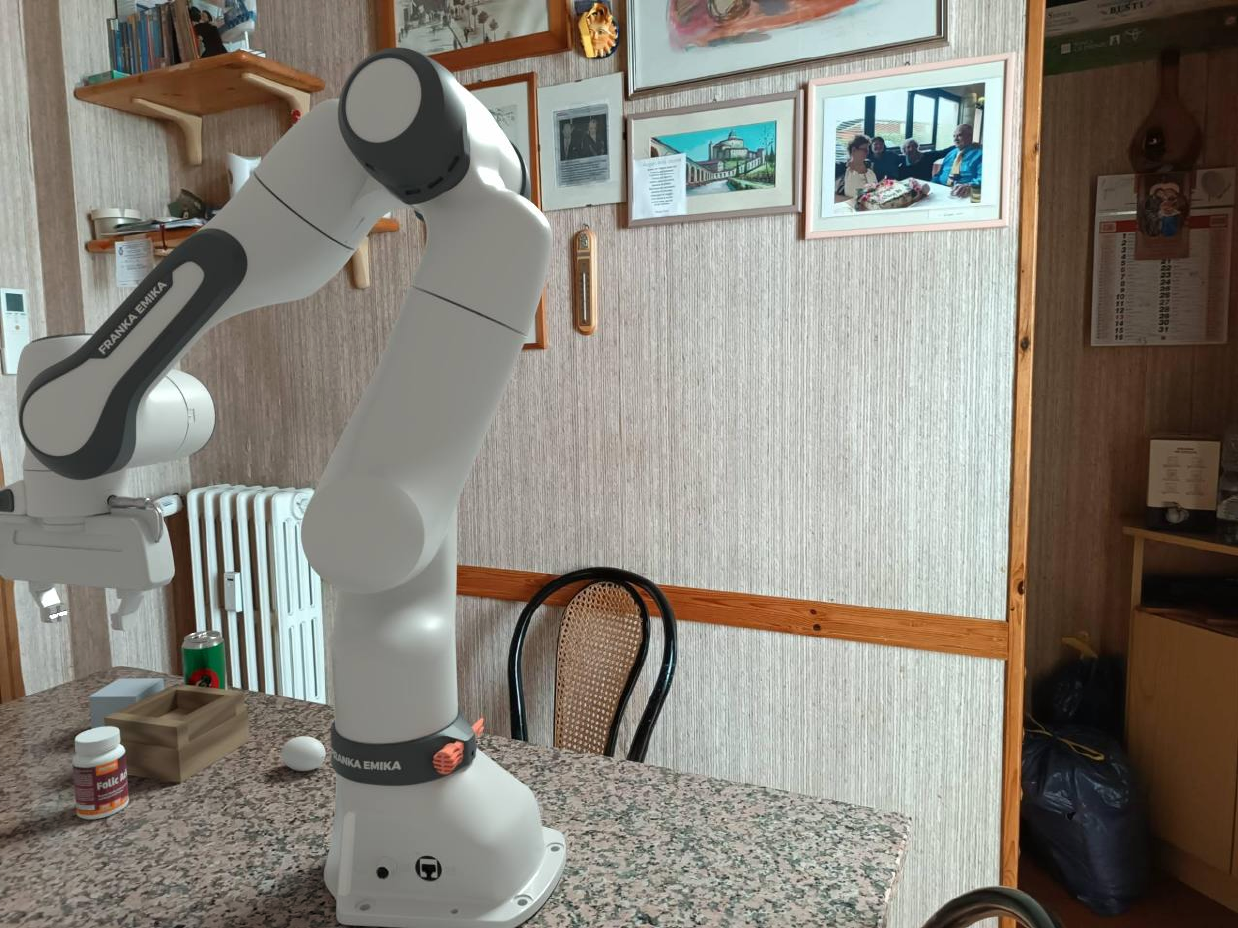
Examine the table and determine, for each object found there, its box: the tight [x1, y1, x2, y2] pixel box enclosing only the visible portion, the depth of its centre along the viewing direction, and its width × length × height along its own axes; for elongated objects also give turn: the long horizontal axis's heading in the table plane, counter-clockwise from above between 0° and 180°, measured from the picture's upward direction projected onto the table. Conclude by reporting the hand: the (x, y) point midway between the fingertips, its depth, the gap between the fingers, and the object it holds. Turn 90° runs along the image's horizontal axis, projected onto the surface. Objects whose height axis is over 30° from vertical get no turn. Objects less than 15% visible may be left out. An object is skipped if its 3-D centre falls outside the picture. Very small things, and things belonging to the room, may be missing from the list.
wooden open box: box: [104, 683, 251, 784], centre depth 97 cm, size 11×11×6 cm
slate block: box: [88, 677, 165, 729], centre depth 104 cm, size 6×6×6 cm
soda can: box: [180, 630, 229, 690], centre depth 106 cm, size 5×5×12 cm
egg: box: [281, 735, 326, 772], centre depth 94 cm, size 4×6×4 cm, turn 72°
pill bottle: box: [71, 726, 130, 820], centre depth 85 cm, size 5×5×8 cm
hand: (89, 625), depth 83 cm, fingers open, 8 cm apart
